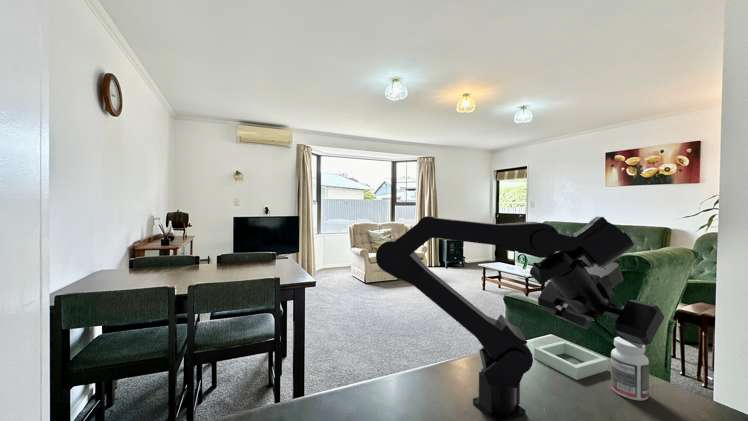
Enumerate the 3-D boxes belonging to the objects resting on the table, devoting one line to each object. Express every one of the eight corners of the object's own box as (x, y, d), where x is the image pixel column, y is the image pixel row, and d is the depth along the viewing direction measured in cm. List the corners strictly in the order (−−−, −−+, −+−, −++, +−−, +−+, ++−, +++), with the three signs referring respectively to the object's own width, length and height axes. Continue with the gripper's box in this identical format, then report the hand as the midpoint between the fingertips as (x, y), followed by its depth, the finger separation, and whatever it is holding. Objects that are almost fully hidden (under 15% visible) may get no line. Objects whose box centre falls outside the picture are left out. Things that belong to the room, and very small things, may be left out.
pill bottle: (634, 385, 63) (635, 336, 63) (657, 402, 58) (657, 348, 58) (604, 383, 64) (604, 335, 64) (623, 400, 58) (624, 347, 58)
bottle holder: (576, 380, 65) (576, 368, 65) (534, 358, 75) (534, 347, 75) (607, 370, 69) (607, 359, 69) (563, 350, 79) (563, 340, 78)
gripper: (658, 254, 48) (696, 317, 52) (548, 241, 65) (583, 289, 69) (625, 312, 45) (668, 374, 49) (519, 283, 62) (558, 330, 66)
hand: (612, 335), depth 58 cm, fingers open, 9 cm apart
